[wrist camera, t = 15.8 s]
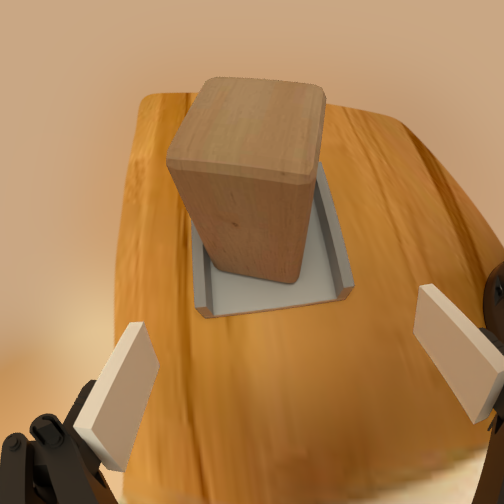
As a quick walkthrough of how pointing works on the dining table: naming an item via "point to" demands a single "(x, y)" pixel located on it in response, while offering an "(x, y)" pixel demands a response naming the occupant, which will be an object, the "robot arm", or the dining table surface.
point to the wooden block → (250, 172)
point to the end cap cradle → (273, 292)
